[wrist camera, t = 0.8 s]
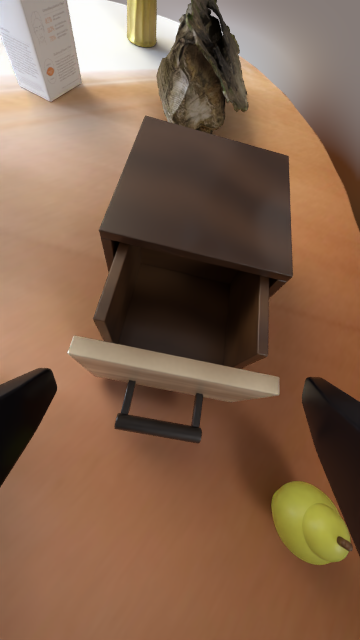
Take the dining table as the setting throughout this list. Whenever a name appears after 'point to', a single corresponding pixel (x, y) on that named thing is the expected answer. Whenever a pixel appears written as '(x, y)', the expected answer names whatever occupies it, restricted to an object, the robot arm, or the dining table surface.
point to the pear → (310, 524)
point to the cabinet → (203, 202)
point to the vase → (141, 22)
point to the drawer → (178, 334)
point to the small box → (40, 45)
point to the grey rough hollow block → (201, 71)
